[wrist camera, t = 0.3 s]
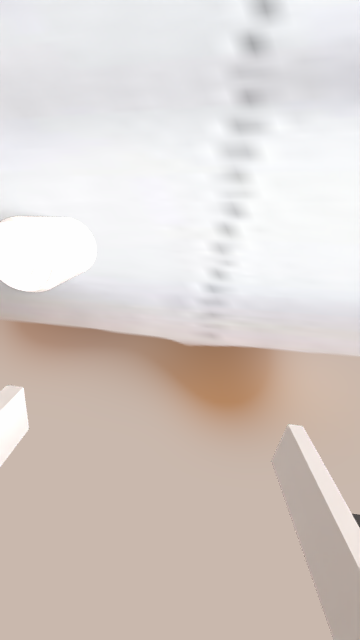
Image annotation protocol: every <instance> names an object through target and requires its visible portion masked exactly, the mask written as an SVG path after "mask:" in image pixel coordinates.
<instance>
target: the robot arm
mask: <svg viewBox="0 0 360 640" xmlns="http://www.w3.org/2000/svg"><path fill="white" fill-rule="evenodd" d="M28 429H29V424H28V417H27V410H26V402H25V395H24V389H23V387H18V386H10V385H7V386H6V387H5V388H3V389H2V390H1V391H0V467H1V465H2V464H3V463H4V461H5V460H6V459H7V457H8V456H9V455H10V453H11V452H12V451H13V449H14V448H15V447H16V445H17V444H18V443H19V441H20V440H21V439H22V437H23V436H24V434H25V433H26V432H27V431H28ZM271 462H272V464H273V467H274V470H275V473H276V476H277V479H278V482H279V485H280V487H281V490H282V493H283V496H284V499H285V502H286V505H287V507H288V510H289V513H290V516H291V519H292V522H293V525H294V528H295V530H296V534H297V536H298V539H299V542H300V545H301V548H302V551H303V553H304V557H305V559H306V562H307V565H308V568H309V571H310V574H311V577H312V580H313V582H314V585H315V588H316V591H317V594H318V597H319V600H320V602H321V605H322V608H323V611H324V614H325V617H326V620H327V623H328V625H329V628H330V631H331V634H332V637H333V640H360V515H357V514H352V513H351V512H350V510H349V508H348V506H347V504H346V503H345V501H344V499H343V497H342V495H341V494H340V492H339V490H338V488H337V486H336V485H335V483H334V481H333V479H332V478H331V476H330V474H329V472H328V471H327V469H326V467H325V465H324V464H323V461H322V460H321V458H320V456H319V454H318V452H317V451H316V449H315V447H314V445H313V443H312V442H311V440H310V438H309V436H308V435H307V433H306V431H305V429H304V428H303V426H298V425H291V424H288V425H287V428H286V430H285V432H284V434H283V436H282V438H281V441H280V443H279V445H278V447H277V449H276V451H275V454H274V456H273V458H272V461H271Z"/></svg>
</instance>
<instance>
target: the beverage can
mask: <svg viewBox="0 0 360 640" xmlns="http://www.w3.org/2000/svg"><path fill="white" fill-rule="evenodd" d="M96 254H97V248H96V243H95V240H94V237H93V235H92V234H91V232H90V231H89V229H88V228H87V227H86V226H85V225H84V224H82V223H81V222H79V221H78V220H76V219H73V218H69V217H43V216H13V217H9V218H6V219H4V220H2V221H0V280H1V281H2V282H4V283H5V284H7V285H8V286H10V287H12V288H14V289H17V290H21V291H29V292H43V291H47V290H50V289H52V288H54V287H56V286H58V285H60V284H62V283H64V282H65V281H67V280H69V279H71V278H73V277H75V276H77V275H79V274H81V273H83V272H85V271H87V270H88V269H89V268H90V267H91V266H92V265H93V263H94V261H95V259H96Z"/></svg>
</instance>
